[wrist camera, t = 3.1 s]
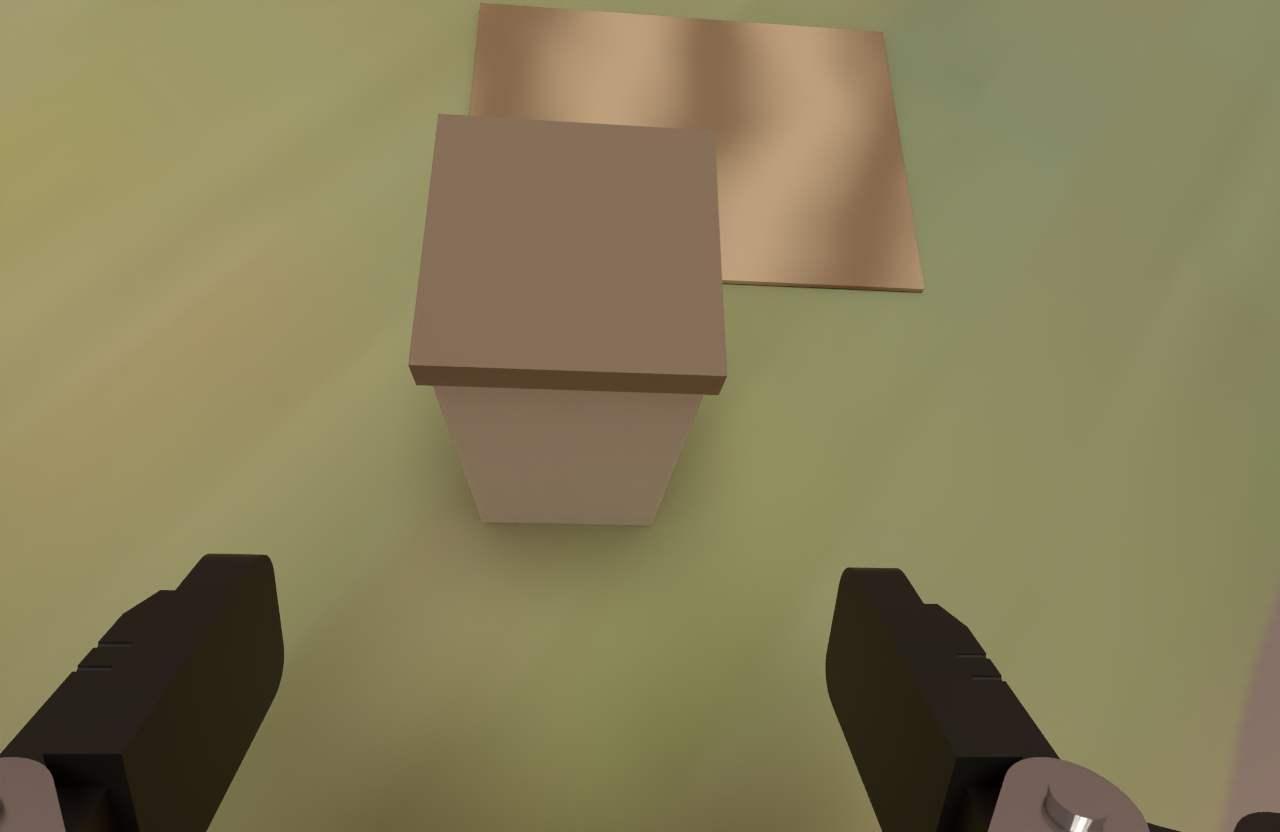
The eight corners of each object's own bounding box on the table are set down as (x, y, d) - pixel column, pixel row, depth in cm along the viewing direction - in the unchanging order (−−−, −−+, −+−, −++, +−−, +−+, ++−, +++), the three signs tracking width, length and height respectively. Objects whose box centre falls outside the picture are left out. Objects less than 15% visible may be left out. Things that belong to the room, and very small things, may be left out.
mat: (454, 271, 27) (453, 267, 26) (480, 7, 31) (480, 2, 31) (921, 292, 28) (924, 289, 28) (880, 36, 32) (882, 31, 32)
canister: (474, 528, 23) (408, 365, 13) (487, 362, 25) (438, 113, 16) (658, 532, 24) (726, 376, 14) (656, 368, 26) (714, 130, 16)
